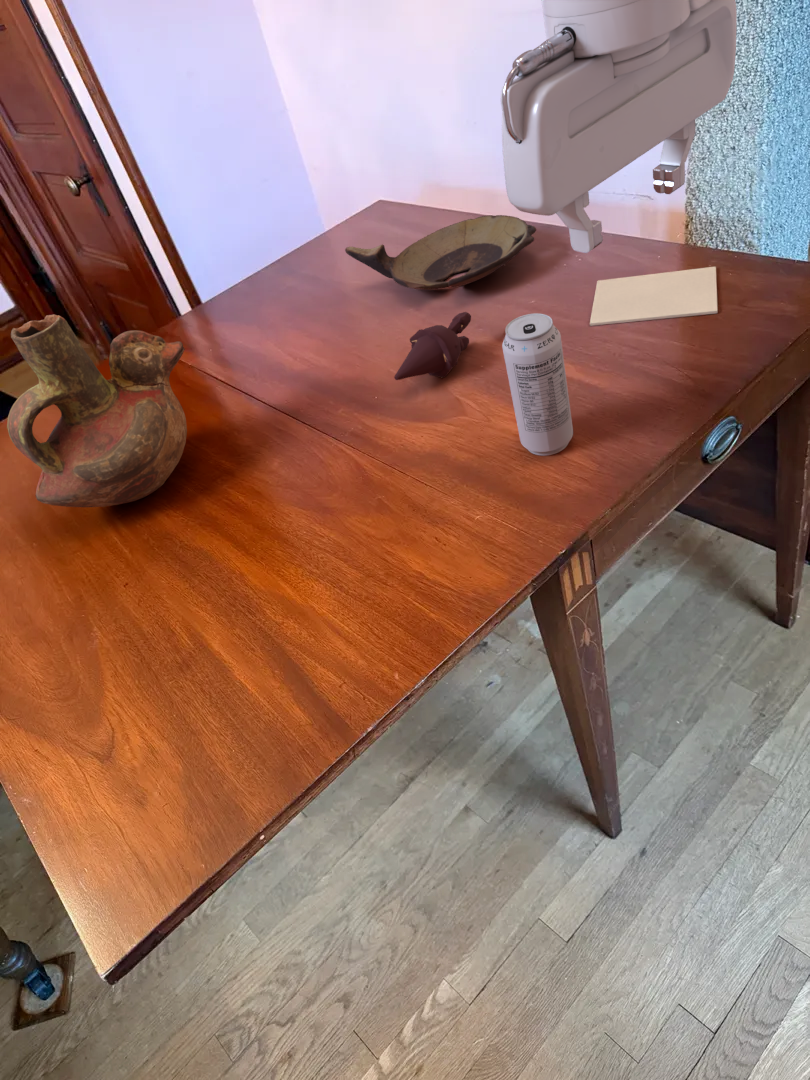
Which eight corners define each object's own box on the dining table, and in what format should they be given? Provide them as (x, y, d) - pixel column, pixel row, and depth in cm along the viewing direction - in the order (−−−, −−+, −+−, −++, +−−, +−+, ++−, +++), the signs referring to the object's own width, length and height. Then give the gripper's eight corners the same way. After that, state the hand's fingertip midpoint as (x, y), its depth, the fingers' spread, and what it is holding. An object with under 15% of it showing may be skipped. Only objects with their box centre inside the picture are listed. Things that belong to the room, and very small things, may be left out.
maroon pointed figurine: (416, 367, 93) (491, 316, 100) (373, 344, 96) (449, 296, 103) (416, 411, 98) (487, 359, 105) (376, 387, 101) (447, 338, 108)
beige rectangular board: (715, 269, 103) (715, 266, 103) (717, 313, 96) (717, 310, 95) (597, 283, 109) (597, 280, 109) (589, 326, 101) (589, 323, 101)
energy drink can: (570, 421, 88) (554, 305, 78) (577, 452, 83) (562, 333, 73) (519, 431, 89) (497, 318, 79) (523, 463, 84) (501, 347, 74)
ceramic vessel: (256, 445, 102) (171, 273, 85) (92, 563, 92) (-40, 394, 76) (196, 412, 113) (110, 254, 96) (44, 514, 103) (-80, 357, 87)
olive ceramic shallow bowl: (497, 314, 110) (487, 264, 105) (343, 303, 127) (328, 260, 122) (561, 242, 122) (556, 195, 117) (412, 241, 138) (402, 200, 133)
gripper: (537, 67, 41) (567, 294, 51) (757, -61, 48) (748, 162, 57) (461, 68, 46) (502, 277, 55) (673, -50, 52) (677, 156, 61)
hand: (629, 218), depth 56 cm, fingers open, 8 cm apart
